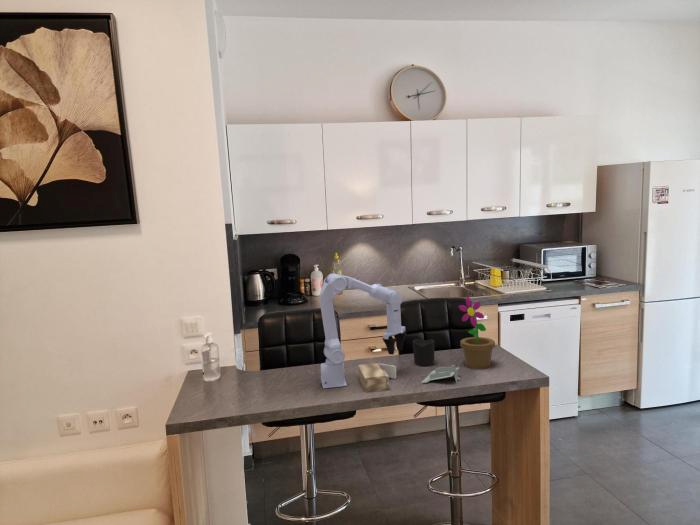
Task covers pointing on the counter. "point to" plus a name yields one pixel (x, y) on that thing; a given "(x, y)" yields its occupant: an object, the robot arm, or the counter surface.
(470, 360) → the flowerpot
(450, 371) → the metal bracket
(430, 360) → the pen holder
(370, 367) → the beige rectangular block
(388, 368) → the door
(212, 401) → the counter surface
